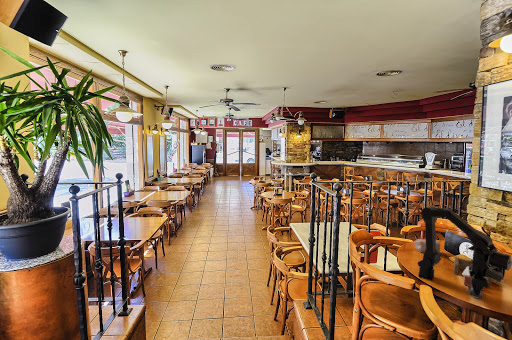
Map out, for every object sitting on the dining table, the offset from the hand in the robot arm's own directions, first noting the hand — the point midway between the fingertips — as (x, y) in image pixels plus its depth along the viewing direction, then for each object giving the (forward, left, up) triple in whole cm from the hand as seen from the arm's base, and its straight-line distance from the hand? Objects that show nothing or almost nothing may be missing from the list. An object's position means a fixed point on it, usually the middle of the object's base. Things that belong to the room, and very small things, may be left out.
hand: (476, 291), depth 127 cm
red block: (0, +5, -3) cm, 6 cm away
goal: (0, +27, -3) cm, 27 cm away
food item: (-23, +48, -4) cm, 54 cm away
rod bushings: (0, +4, -3) cm, 6 cm away
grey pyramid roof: (0, +18, -4) cm, 18 cm away
